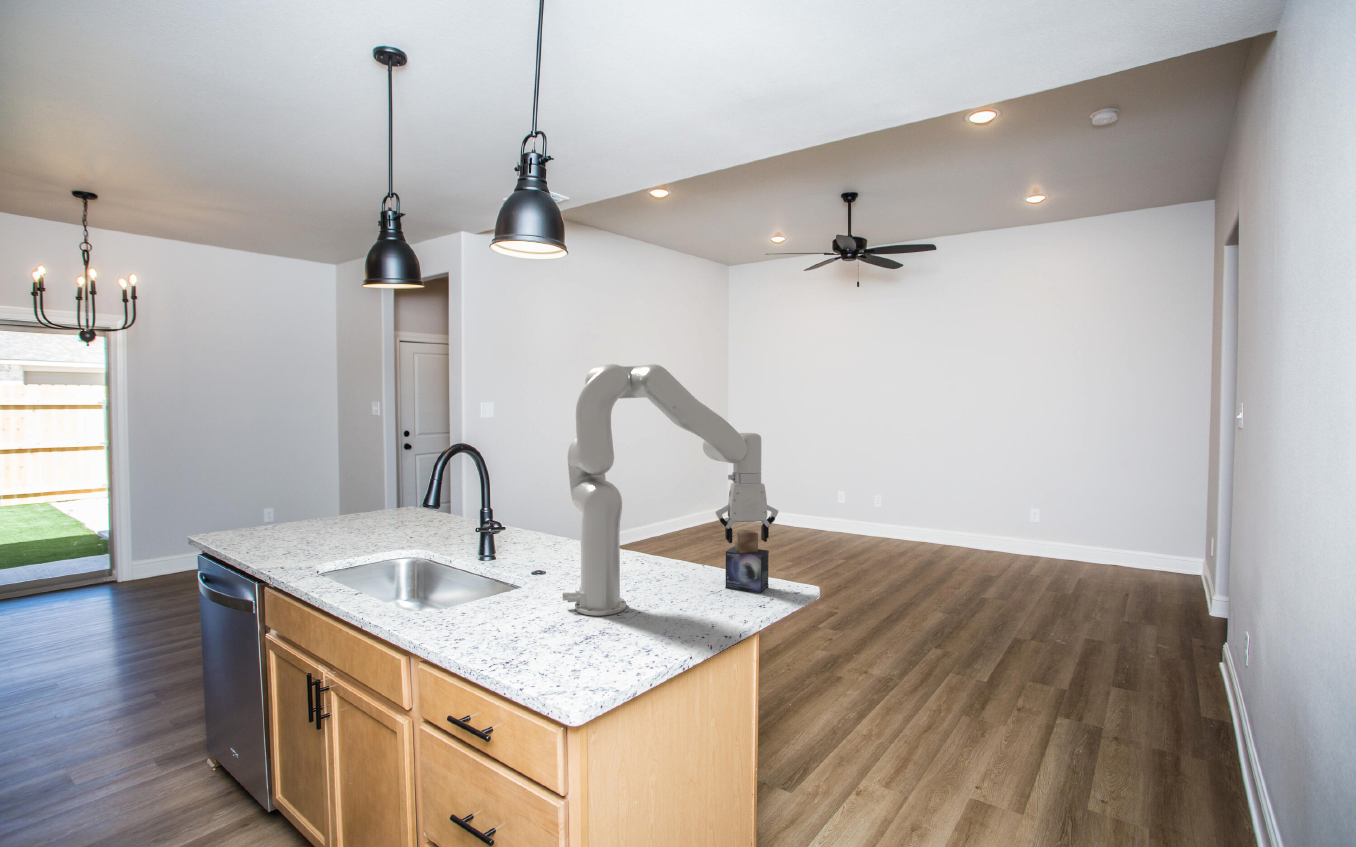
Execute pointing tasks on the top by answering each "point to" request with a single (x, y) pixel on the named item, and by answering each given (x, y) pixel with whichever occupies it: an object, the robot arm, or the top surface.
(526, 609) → the top surface
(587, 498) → the robot arm
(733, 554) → the small box
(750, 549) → the walnut cube
